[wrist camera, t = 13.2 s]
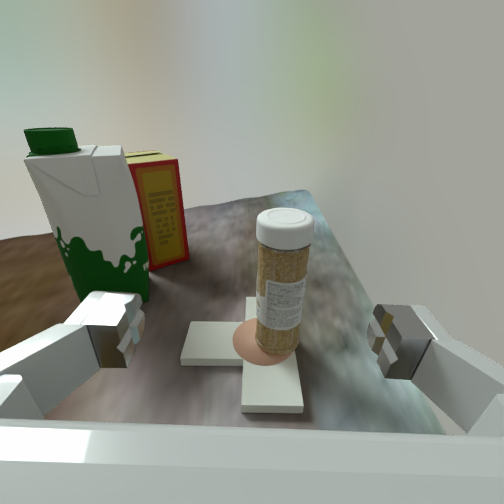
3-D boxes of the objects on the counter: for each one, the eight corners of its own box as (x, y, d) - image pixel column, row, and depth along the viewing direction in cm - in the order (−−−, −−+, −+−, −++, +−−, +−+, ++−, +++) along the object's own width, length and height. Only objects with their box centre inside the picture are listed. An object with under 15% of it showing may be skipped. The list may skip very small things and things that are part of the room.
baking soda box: (189, 259, 45) (177, 156, 37) (149, 271, 41) (126, 161, 34) (168, 238, 51) (154, 148, 44) (132, 247, 48) (110, 151, 40)
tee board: (168, 411, 22) (166, 403, 22) (199, 302, 35) (198, 295, 34) (305, 413, 22) (306, 405, 22) (287, 303, 35) (287, 296, 34)
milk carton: (85, 281, 39) (32, 126, 29) (152, 269, 42) (124, 124, 32) (76, 322, 32) (2, 133, 22) (158, 303, 35) (123, 131, 25)
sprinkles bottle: (258, 321, 30) (261, 204, 24) (300, 326, 30) (314, 207, 23) (251, 354, 26) (252, 224, 20) (299, 361, 26) (316, 229, 19)
